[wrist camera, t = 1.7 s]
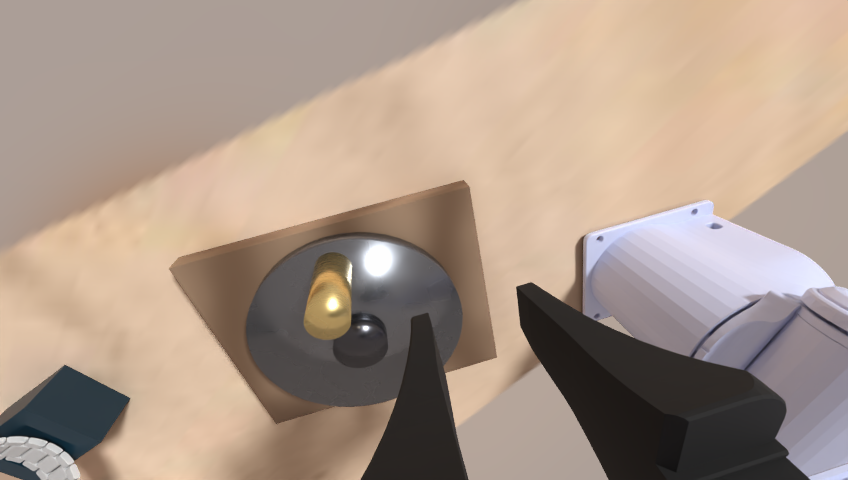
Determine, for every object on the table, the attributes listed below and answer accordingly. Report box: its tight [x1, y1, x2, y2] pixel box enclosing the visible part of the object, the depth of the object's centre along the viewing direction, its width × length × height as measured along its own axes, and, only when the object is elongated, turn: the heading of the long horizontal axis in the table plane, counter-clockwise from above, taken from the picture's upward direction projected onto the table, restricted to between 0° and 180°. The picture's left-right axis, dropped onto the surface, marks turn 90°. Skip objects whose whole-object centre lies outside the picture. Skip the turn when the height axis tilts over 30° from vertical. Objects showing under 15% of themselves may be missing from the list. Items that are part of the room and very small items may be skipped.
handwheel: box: [246, 232, 463, 407], centre depth 20 cm, size 13×13×6 cm
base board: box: [169, 180, 497, 424], centre depth 23 cm, size 17×14×1 cm
